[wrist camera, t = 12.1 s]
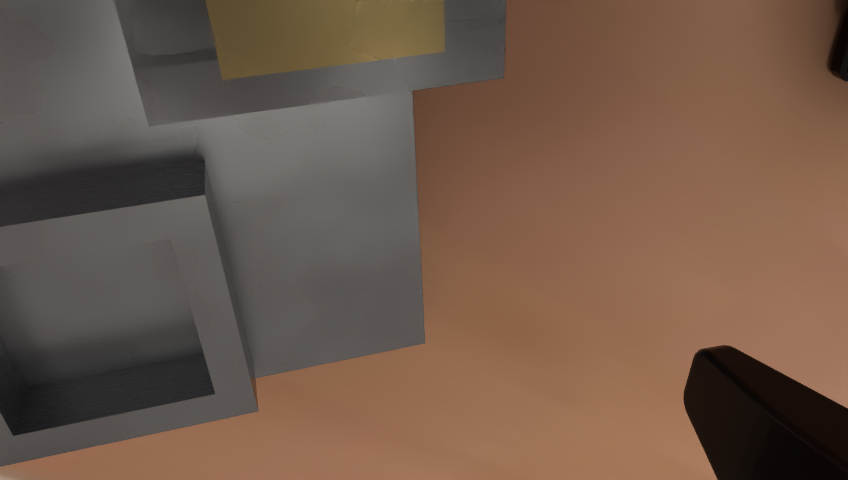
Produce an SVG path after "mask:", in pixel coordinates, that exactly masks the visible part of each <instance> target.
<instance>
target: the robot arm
mask: <svg viewBox="0 0 848 480" xmlns="http://www.w3.org/2000/svg"><path fill="white" fill-rule="evenodd" d="M831 72H832V74H833V75H834V76H836V77H838V78H840V79H842V80H844V81H848V9H847V12H846V16H845V19H844V23H843V26H842V29H841V33H840V36H839V40H838V43H837V46H836V50H835V53H834V57H833V60H832V63H831ZM684 405H685V409H686V412H687V414H688V416H689V419H690V421H691V423H692V425H693V427H694V429H695V432H696V434H697V436H698V438H699V440H700V442H701V445H702V447H703V449H704V451H705V453H706V456H707V458H708V460H709V462H710V464H711V466H712V469H713V471H714V473H715V475H716V477H717V479H718V480H848V408H846V407H844V406H842V405H840V404H838V403H836V402H834V401H833V400H831V399H829V398H827V397H825V396H823V395H821V394H820V393H818V392H816V391H814V390H812V389H810V388H808V387H806V386H805V385H803V384H801V383H799V382H797V381H795V380H793V379H792V378H790V377H788V376H786V375H784V374H782V373H780V372H778V371H777V370H775V369H773V368H771V367H769V366H767V365H765V364H764V363H762V362H760V361H758V360H756V359H754V358H752V357H750V356H749V355H747V354H745V353H743V352H741V351H739V350H737V349H736V348H733V347H731V346H727V345H722V346H716V347H710V348H704V349H701V350H699V351H698V352H697V353H696V354H695V356H694V358H693V361H692V365H691V368H690V372H689V376H688V379H687V383H686V386H685V390H684Z"/></svg>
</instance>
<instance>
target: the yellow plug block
mask: <svg viewBox="0 0 848 480" xmlns="http://www.w3.org/2000/svg"><path fill="white" fill-rule="evenodd" d="M206 5H207V9H208V14H209V19H210V24H211V29H212V33H213V38H214V43H215V48H216V53H217V57H218V62H219V67H220V72H221V77H222V80H227V79H235V78H243V77H251V76H259V75H267V74H274V73H282V72H290V71H298V70H306V69H314V68H321V67H329V66H337V65H345V64H353V63H361V62H369V61H376V60H384V59H392V58H400V57H408V56H416V55H423V54H431V53H439V52H445V31H444V0H206Z"/></svg>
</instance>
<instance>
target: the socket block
mask: <svg viewBox="0 0 848 480" xmlns="http://www.w3.org/2000/svg"><path fill="white" fill-rule="evenodd" d="M505 22H506V0H444V31H445V52H439V53H431V54H423V55H416V56H408V57H400V58H392V59H384V60H376V61H369V62H361V63H353V64H345V65H337V66H329V67H321V68H314V69H306V70H298V71H290V72H282V73H274V74H267V75H259V76H251V77H243V78H235V79H227V80H222V77H221V72H220V67H219V62H218V57H217V53H216V48H215V43H214V38H213V33H212V29H211V24H210V19H209V14H208V9H207V5H206V0H0V466H5V465H10V464H14V463H19V462H24V461H28V460H33V459H38V458H42V457H47V456H52V455H56V454H61V453H66V452H70V451H75V450H80V449H84V448H89V447H94V446H98V445H103V444H108V443H112V442H117V441H122V440H127V439H131V438H136V437H141V436H145V435H150V434H155V433H159V432H164V431H169V430H173V429H178V428H183V427H187V426H192V425H197V424H201V423H206V422H211V421H215V420H220V419H225V418H229V417H234V416H239V415H243V414H248V413H253V412H257V411H258V403H257V391H256V380H255V378H258V377H263V376H268V375H273V374H278V373H283V372H287V371H292V370H297V369H302V368H307V367H312V366H317V365H321V364H326V363H331V362H336V361H341V360H346V359H351V358H355V357H360V356H365V355H370V354H375V353H380V352H385V351H390V350H394V349H399V348H404V347H409V346H414V345H419V344H424V343H425V332H424V312H423V293H422V273H421V253H420V234H419V214H418V194H417V174H416V155H415V135H414V115H413V96H412V91H413V90H420V89H428V88H435V87H442V86H450V85H457V84H464V83H472V82H479V81H486V80H494V79H501V78H504V60H505Z"/></svg>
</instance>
